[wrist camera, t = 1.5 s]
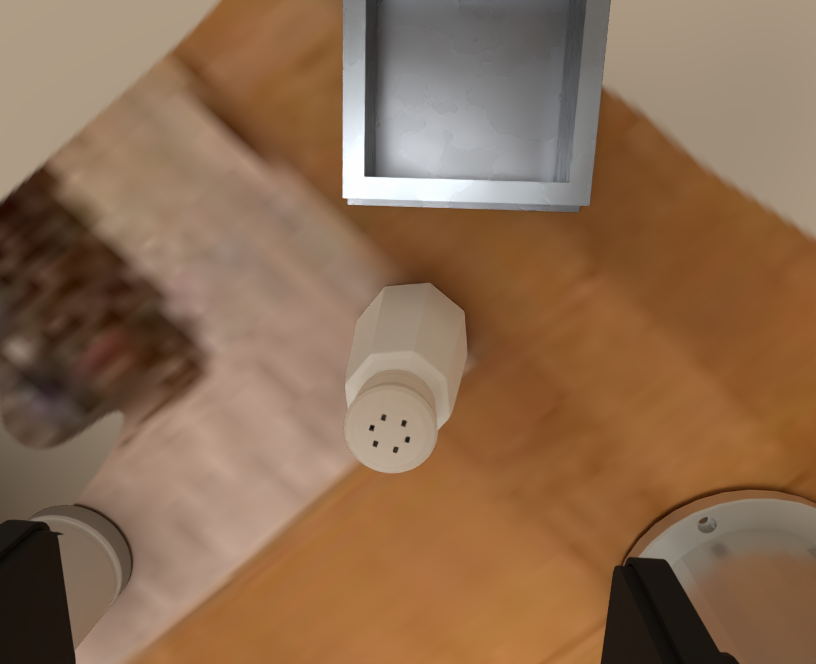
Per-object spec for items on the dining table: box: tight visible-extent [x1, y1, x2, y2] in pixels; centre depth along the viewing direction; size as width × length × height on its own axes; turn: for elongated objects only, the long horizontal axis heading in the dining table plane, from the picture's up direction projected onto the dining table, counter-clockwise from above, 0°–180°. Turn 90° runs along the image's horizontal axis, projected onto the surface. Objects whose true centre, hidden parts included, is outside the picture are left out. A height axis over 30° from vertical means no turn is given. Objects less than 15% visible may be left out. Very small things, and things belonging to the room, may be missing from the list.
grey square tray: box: [343, 0, 611, 212], centre depth 23 cm, size 10×10×4 cm
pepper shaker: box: [343, 283, 468, 473], centre depth 23 cm, size 5×5×11 cm
